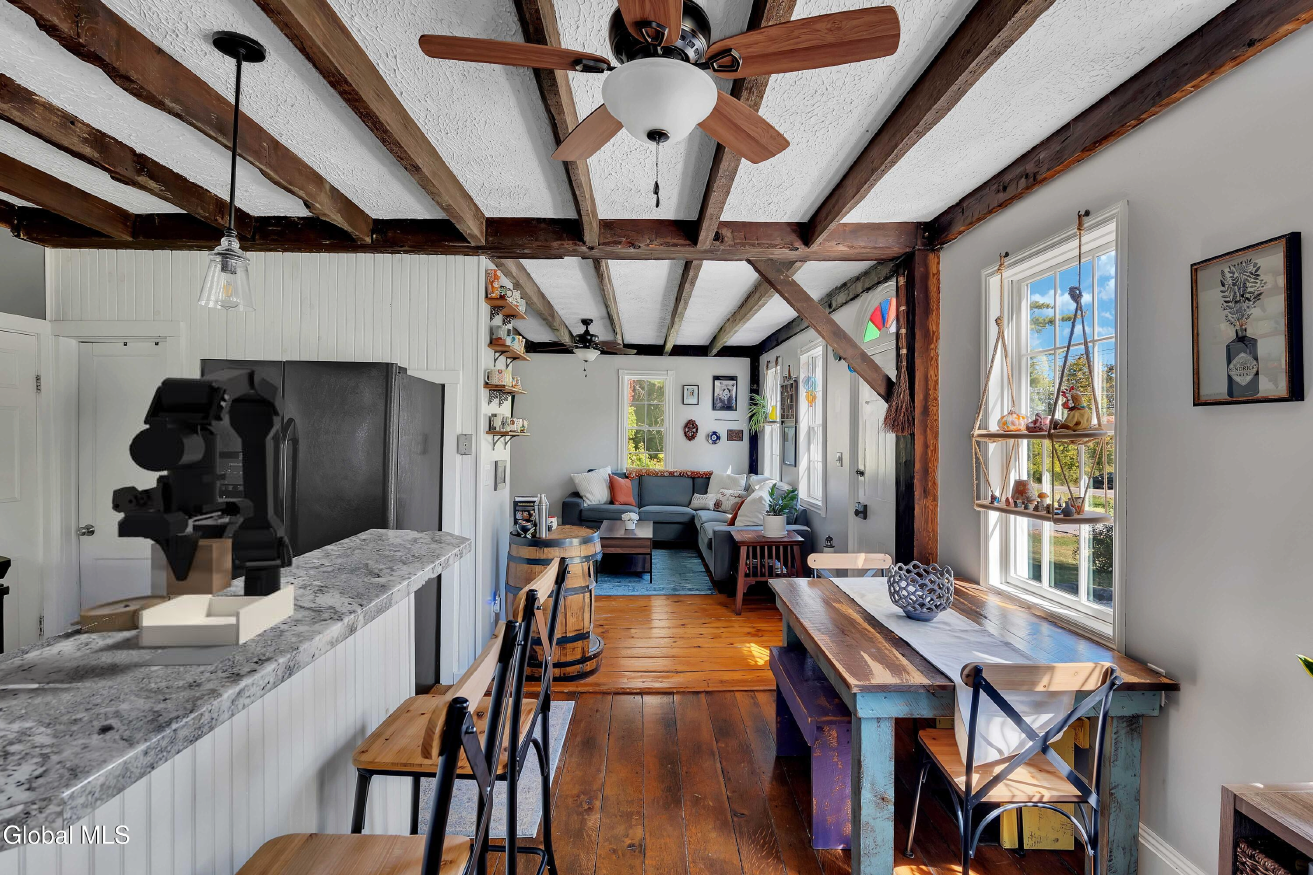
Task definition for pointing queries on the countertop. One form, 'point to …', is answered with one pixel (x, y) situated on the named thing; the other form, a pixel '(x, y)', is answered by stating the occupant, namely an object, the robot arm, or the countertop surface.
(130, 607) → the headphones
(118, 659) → the countertop surface
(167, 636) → the drawer
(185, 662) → the slate mat
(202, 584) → the walnut block
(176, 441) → the robot arm
